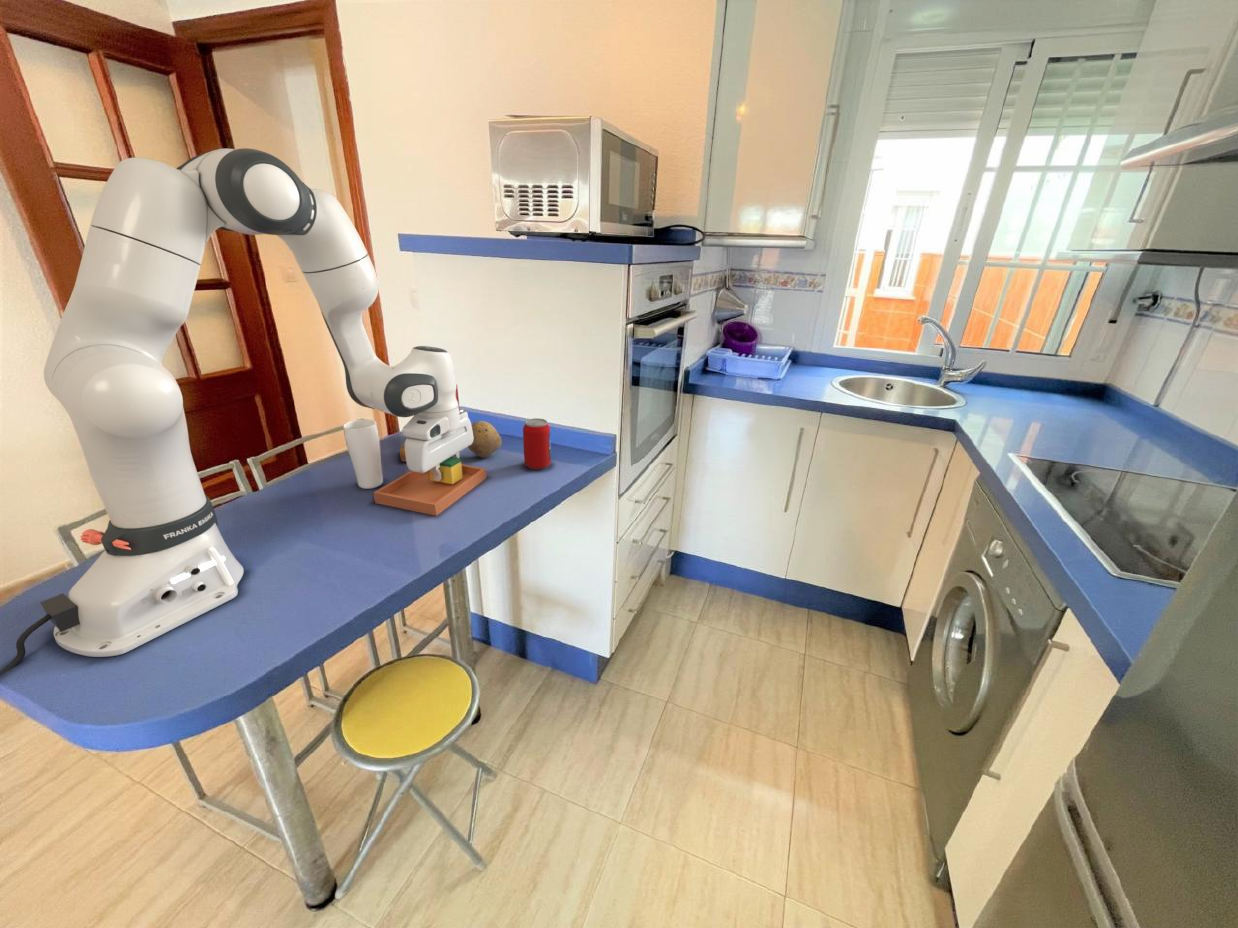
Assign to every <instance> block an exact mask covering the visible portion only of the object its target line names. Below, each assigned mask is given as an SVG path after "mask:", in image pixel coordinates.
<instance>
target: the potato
mask: <svg viewBox="0 0 1238 928" xmlns="http://www.w3.org/2000/svg"><path fill="white" fill-rule="evenodd" d="M471 425H472V430H473V437H474V439H473V443H472V444H471V445H470V446H468V447H467V448H468V449H469V451H471V452H472V453H473V454H474V455H476V456H477V457H479V458H482V459H485V458H489V457H490V456H491V455H493V454H494V452H497V451H498V450H499V449H500V448H501V446H502V442H503V441H502V437H501V435H500V433H499V431H498V430H497V429H496V427H494V425H492V424H491V423H489V422H487V421H485V420H477V421H474V422H473V423H471Z"/></svg>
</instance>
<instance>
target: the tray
mask: <svg viewBox="0 0 1238 928" xmlns="http://www.w3.org/2000/svg"><path fill="white" fill-rule="evenodd" d="M461 466H462V477H463V478H462V479H460V480H459V481H457V482H455V483H454V484H448V483H442V482H437V481H431V479H430V471H429V470H428V471H427V472H425V473H416V472H412V471H411V470H409V471H408V472H406V473H404V474H403V475H401V476H399V477H398V478H395V479H394V480H392V481H391V482H389V483H387V484H385V485H384V486H382V487H380V488H379V489H377V490H375V491H374V492H373V497H374V502H375V504H378V505H383V506H388V507H392V508H398V509H401V510H402V509H403V510H406V511H407V510H408V511H412V512H417V513H421V514H425V515H430V516H436V517H437V516H438V515H439V514H441V513H442V512H443V511H445V510H446V509H448V508H449V507H451V506H452V505H454V503H456V502H457V501H459V500H460V499H461V498H463V497H464V496H466V494H468V493H469V492H470V491H472V490H473V489H475V488H476V487H477V486H478V485H480V484H482V482H484V481H485V480H486V479H487V468H485V467H479V466H473V465H468V464H462V463H461Z"/></svg>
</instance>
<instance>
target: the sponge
mask: <svg viewBox="0 0 1238 928" xmlns="http://www.w3.org/2000/svg"><path fill="white" fill-rule="evenodd" d="M461 464H462V458H460V457H459V458H454V457H450V458H448V459H446V460H445V461H443V462H441V463H440V467H439V468H438V469H439V470H440V472H443V474H444V475H443V476H444V478H443V479H442V480H440V481H437V482H442V483H448V484H454V483H455V482H457V481H459V480H460V479H462V478H463V477H462V466H461ZM429 471H430V470H429ZM430 479H431V481H436V480H434V478H433V473H432V472H431V471H430Z"/></svg>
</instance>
